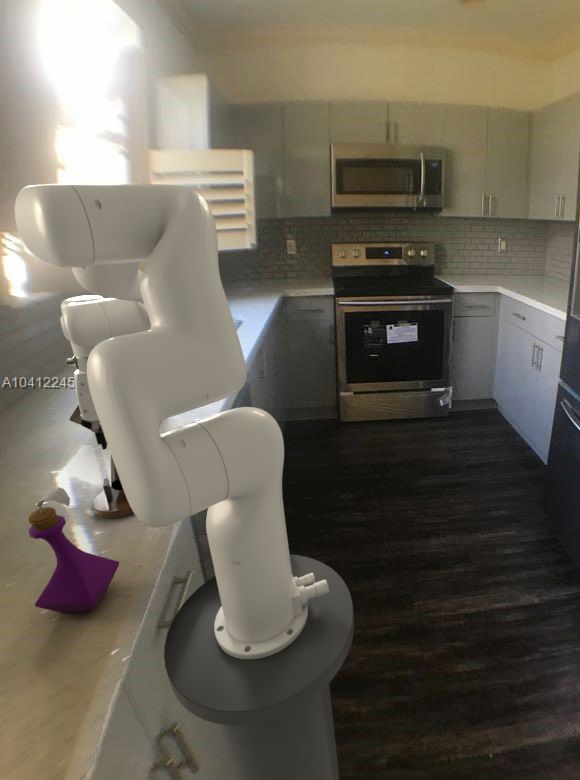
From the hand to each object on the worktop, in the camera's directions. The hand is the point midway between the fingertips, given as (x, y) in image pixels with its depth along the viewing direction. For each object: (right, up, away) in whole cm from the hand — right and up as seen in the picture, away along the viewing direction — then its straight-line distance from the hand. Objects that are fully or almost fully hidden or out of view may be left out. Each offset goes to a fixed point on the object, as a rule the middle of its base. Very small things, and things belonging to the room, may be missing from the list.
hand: (121, 442), depth 95 cm
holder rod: (+2, -3, -4) cm, 6 cm away
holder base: (+6, -10, -9) cm, 15 cm away
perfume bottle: (+13, -19, -31) cm, 38 cm away
